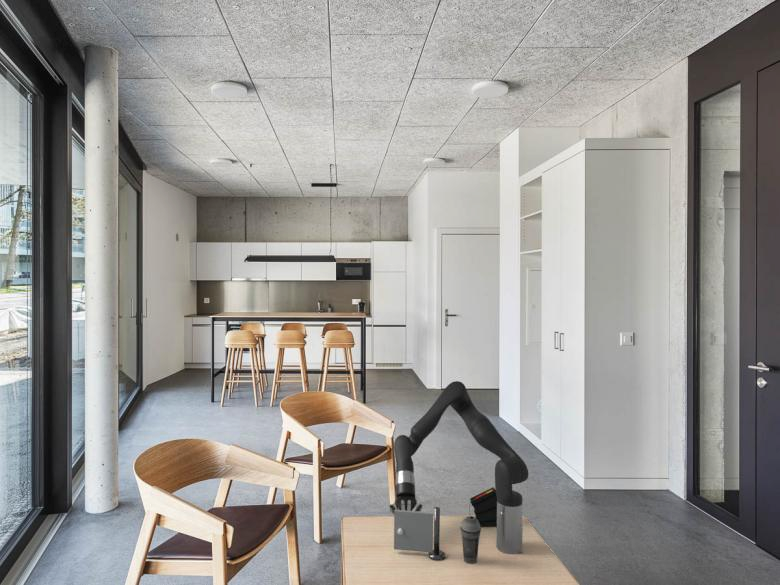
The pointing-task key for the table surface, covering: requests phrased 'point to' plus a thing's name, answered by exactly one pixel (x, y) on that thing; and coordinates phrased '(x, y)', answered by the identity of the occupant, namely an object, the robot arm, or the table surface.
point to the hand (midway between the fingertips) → (406, 530)
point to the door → (413, 531)
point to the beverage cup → (470, 538)
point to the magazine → (486, 508)
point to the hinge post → (436, 538)
